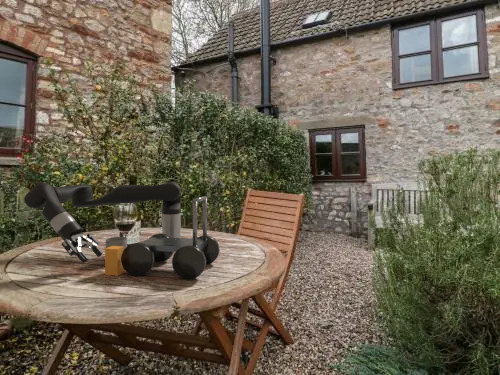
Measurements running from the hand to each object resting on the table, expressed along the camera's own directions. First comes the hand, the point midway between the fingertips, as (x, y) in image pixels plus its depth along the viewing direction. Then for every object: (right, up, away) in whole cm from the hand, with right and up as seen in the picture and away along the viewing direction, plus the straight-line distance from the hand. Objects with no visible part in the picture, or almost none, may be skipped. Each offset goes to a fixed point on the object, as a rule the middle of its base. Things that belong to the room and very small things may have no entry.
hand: (93, 258), depth 122 cm
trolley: (+29, -6, +6) cm, 30 cm away
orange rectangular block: (+8, -6, 0) cm, 10 cm away
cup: (+3, -5, +15) cm, 16 cm away
